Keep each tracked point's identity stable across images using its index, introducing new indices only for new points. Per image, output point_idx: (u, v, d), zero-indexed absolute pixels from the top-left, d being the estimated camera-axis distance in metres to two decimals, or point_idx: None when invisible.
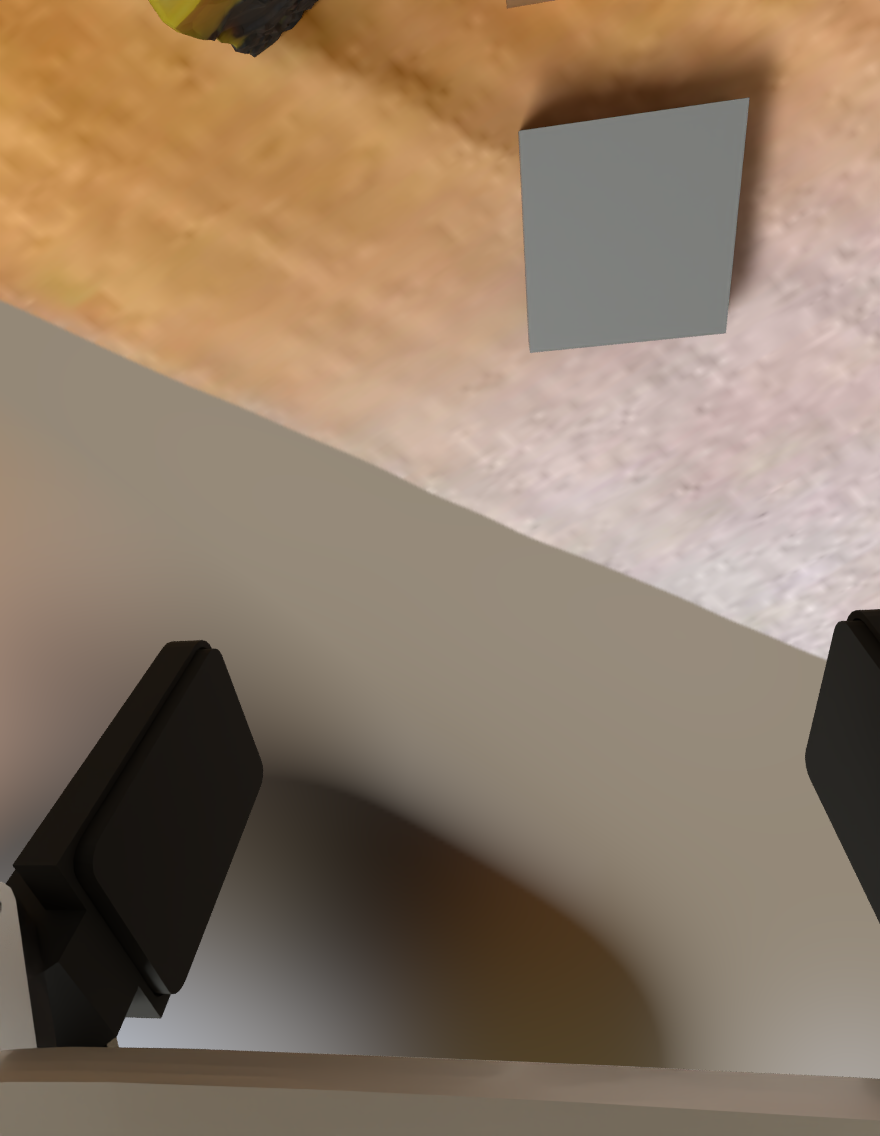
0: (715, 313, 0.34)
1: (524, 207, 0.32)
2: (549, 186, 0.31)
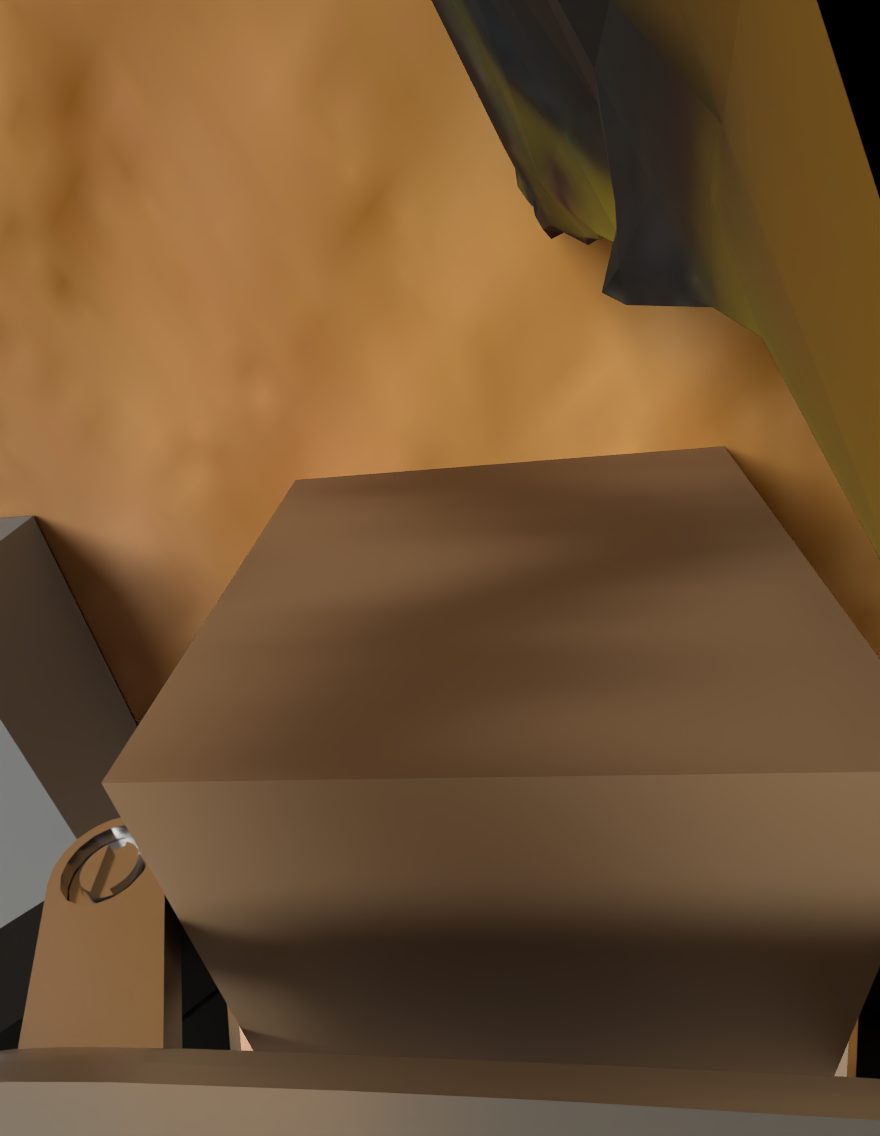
0: None
1: None
2: None
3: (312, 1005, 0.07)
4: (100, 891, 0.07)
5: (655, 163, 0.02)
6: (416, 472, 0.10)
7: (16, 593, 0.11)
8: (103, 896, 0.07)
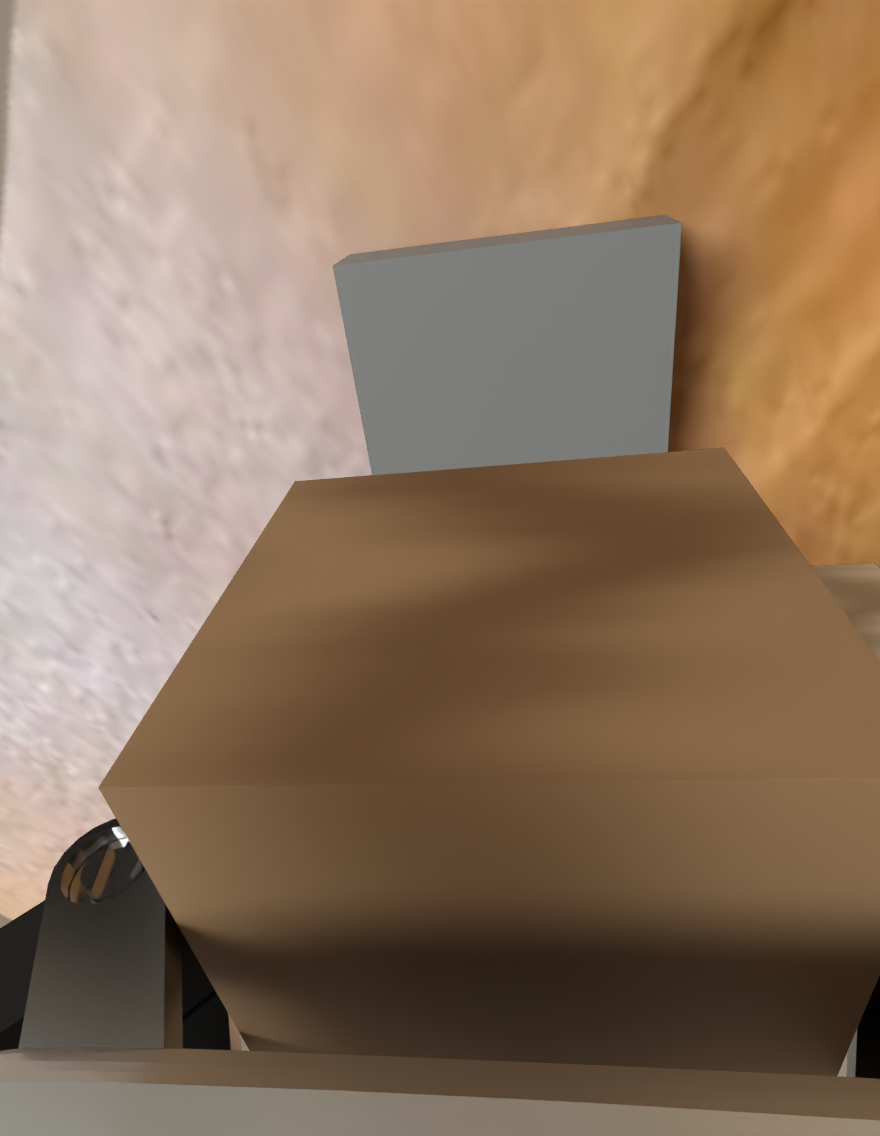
0: None
1: (567, 239, 0.19)
2: (594, 283, 0.19)
3: (311, 1011, 0.07)
4: (101, 891, 0.07)
5: None
6: (415, 473, 0.10)
7: None
8: (104, 896, 0.07)
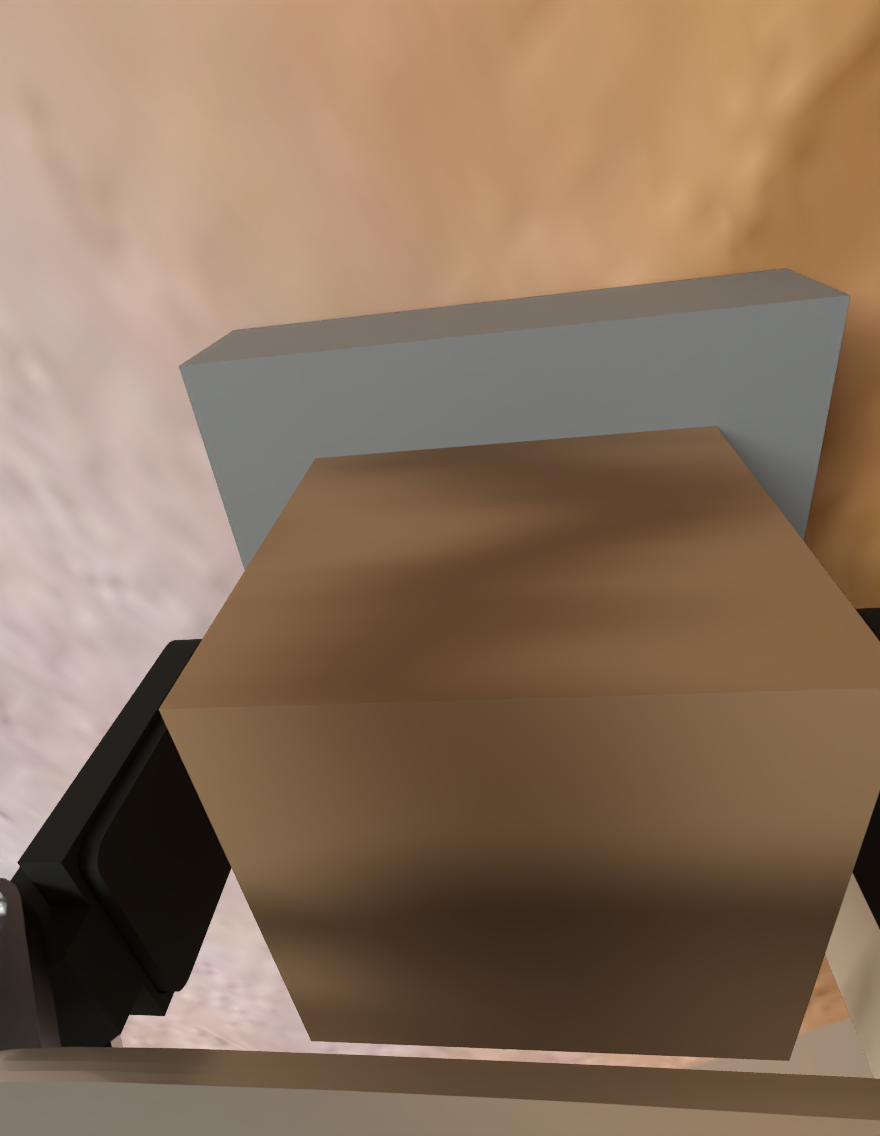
0: None
1: (621, 324, 0.10)
2: (667, 402, 0.10)
3: (338, 929, 0.08)
4: None
5: None
6: (428, 450, 0.11)
7: None
8: None
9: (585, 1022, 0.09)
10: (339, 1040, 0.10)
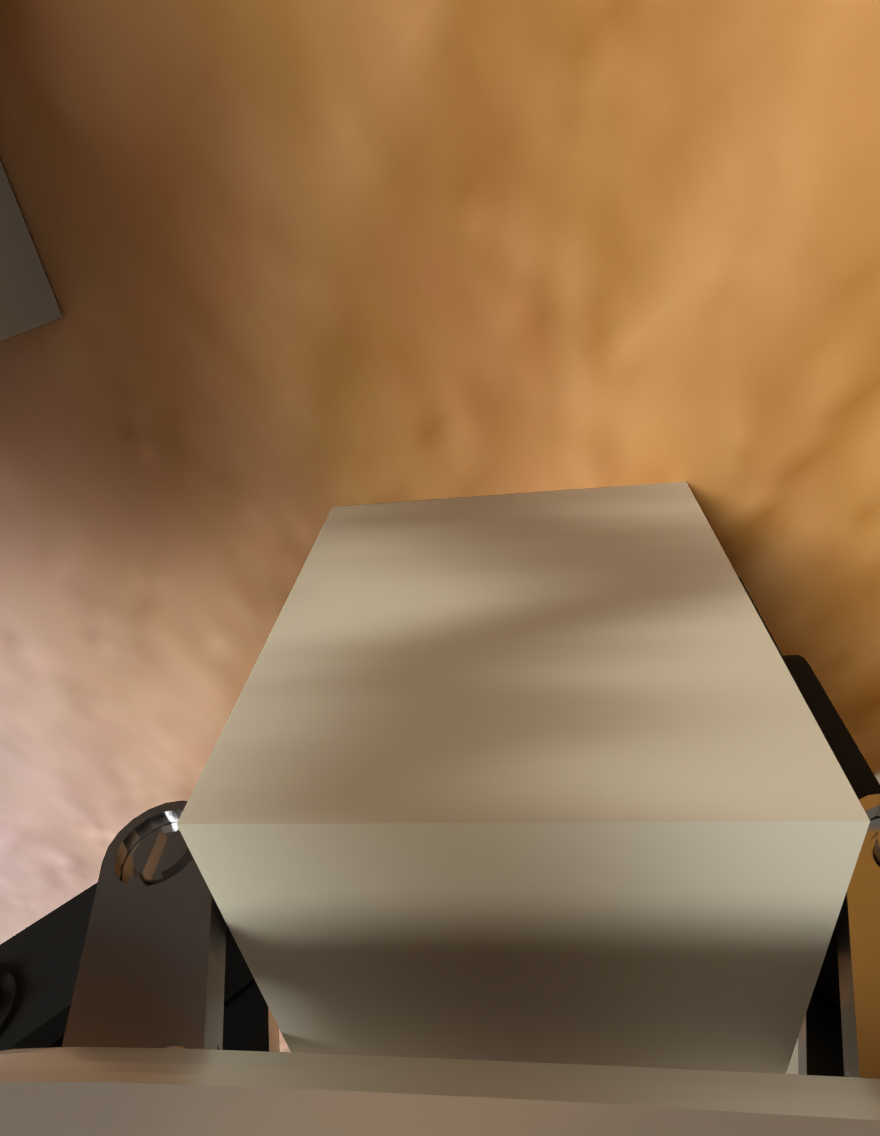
0: None
1: None
2: None
3: None
4: (152, 873, 0.07)
5: None
6: None
7: None
8: (154, 879, 0.07)
9: None
10: None
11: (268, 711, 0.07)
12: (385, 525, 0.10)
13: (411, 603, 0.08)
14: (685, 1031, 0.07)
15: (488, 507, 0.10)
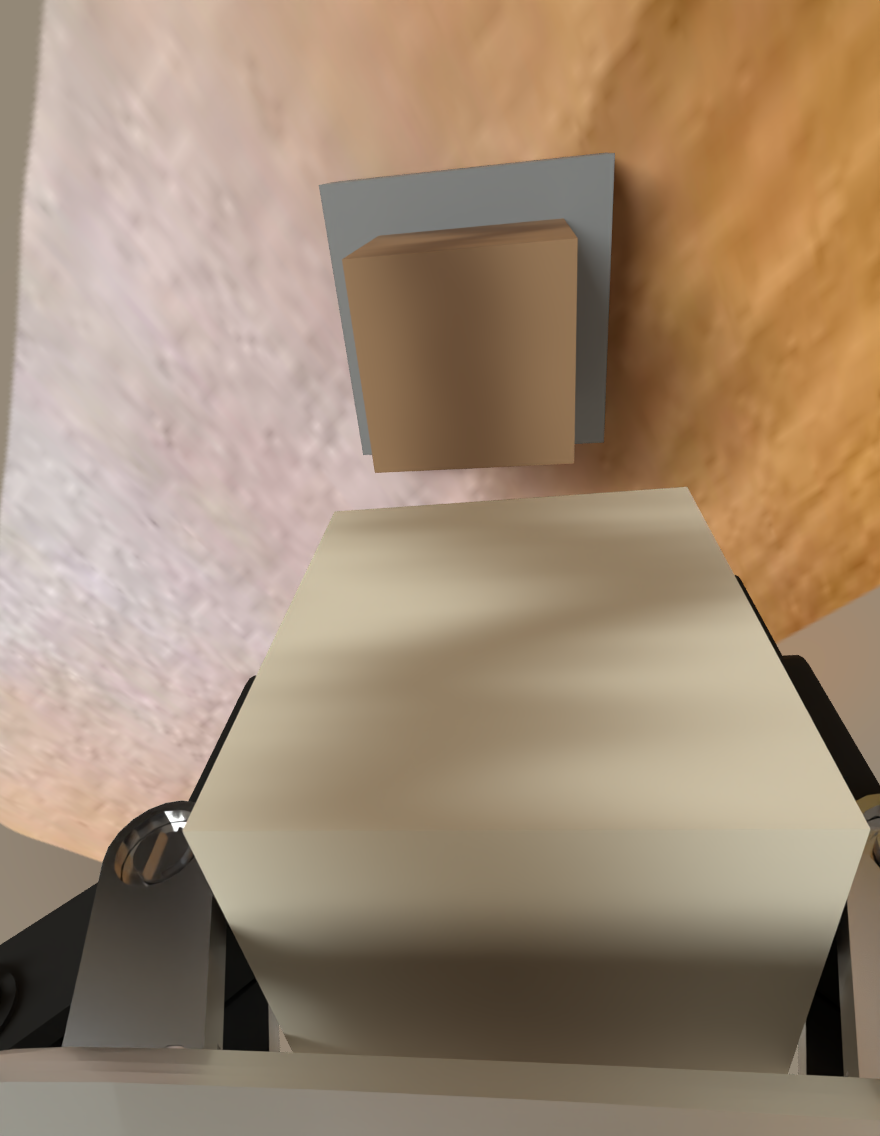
0: None
1: (519, 166, 0.22)
2: (541, 205, 0.23)
3: (393, 385, 0.20)
4: (152, 874, 0.07)
5: None
6: None
7: None
8: (154, 879, 0.07)
9: (490, 443, 0.21)
10: None
11: (272, 718, 0.07)
12: (387, 530, 0.10)
13: (414, 608, 0.08)
14: (687, 1036, 0.07)
15: (490, 513, 0.10)
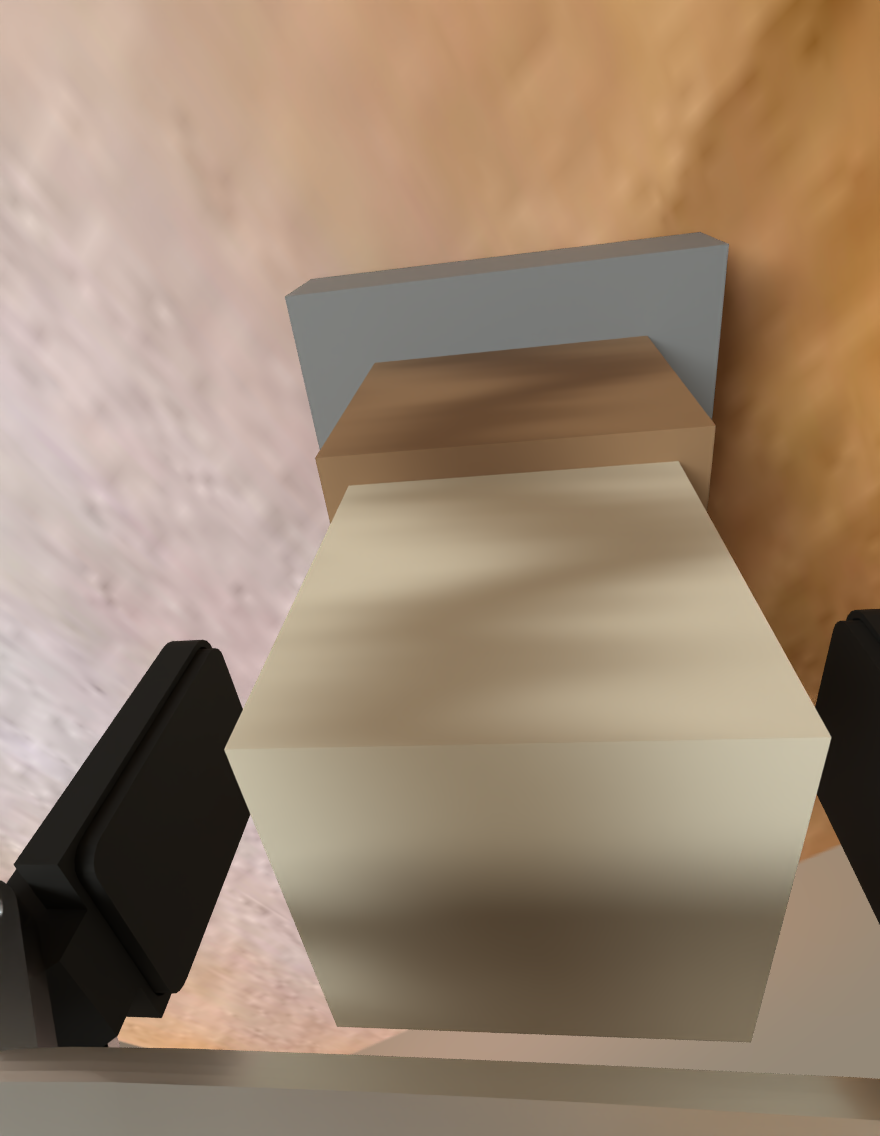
0: None
1: (581, 264, 0.15)
2: (614, 319, 0.15)
3: None
4: None
5: None
6: (453, 355, 0.16)
7: None
8: None
9: None
10: None
11: (299, 658, 0.07)
12: (399, 501, 0.11)
13: (425, 568, 0.09)
14: (674, 947, 0.08)
15: (494, 485, 0.11)
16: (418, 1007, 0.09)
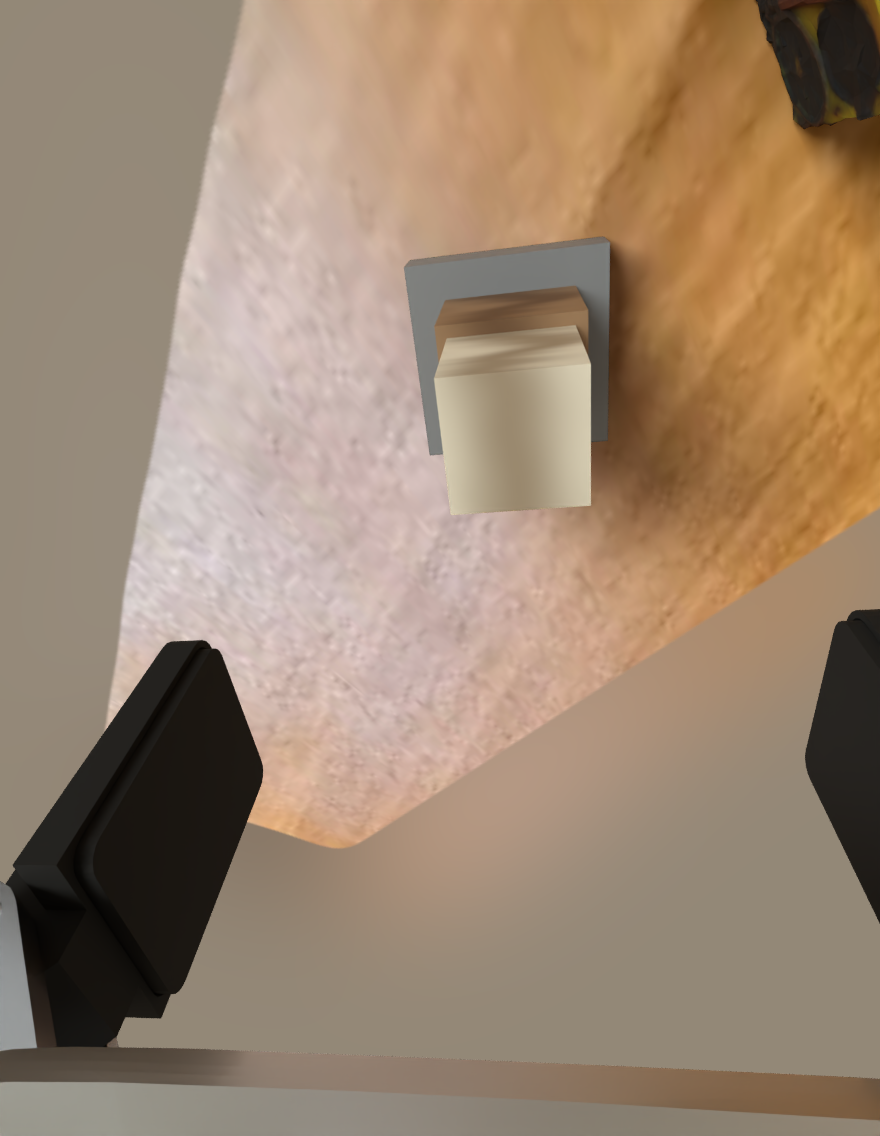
0: None
1: (544, 251, 0.32)
2: (560, 277, 0.33)
3: None
4: None
5: (868, 102, 0.25)
6: (483, 296, 0.33)
7: None
8: None
9: None
10: None
11: (447, 367, 0.25)
12: (468, 340, 0.28)
13: (482, 351, 0.26)
14: (561, 455, 0.25)
15: (505, 334, 0.28)
16: (480, 499, 0.26)
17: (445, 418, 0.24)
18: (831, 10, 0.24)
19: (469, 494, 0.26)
